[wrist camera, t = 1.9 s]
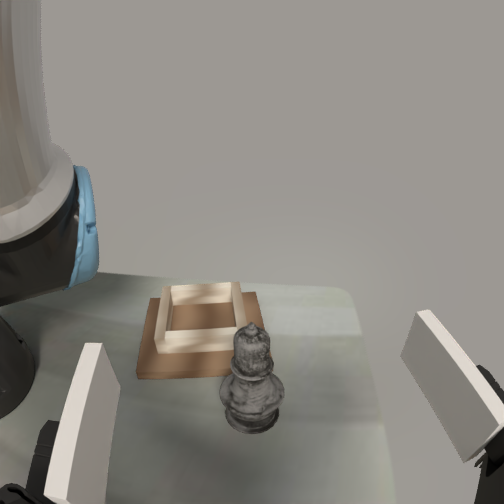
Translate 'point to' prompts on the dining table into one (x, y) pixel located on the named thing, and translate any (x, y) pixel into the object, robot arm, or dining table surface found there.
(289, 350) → the dining table surface
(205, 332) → the caddy
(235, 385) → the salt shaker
